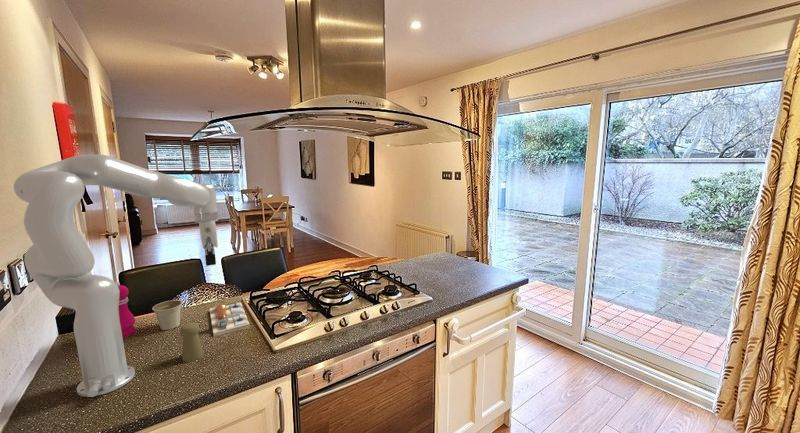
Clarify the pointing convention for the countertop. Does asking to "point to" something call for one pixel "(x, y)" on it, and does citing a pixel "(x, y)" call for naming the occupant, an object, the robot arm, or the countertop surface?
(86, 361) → the robot arm
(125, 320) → the pepper mill
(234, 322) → the gauge board
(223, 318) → the sliding point
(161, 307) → the flower pot
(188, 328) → the cork
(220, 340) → the countertop surface
